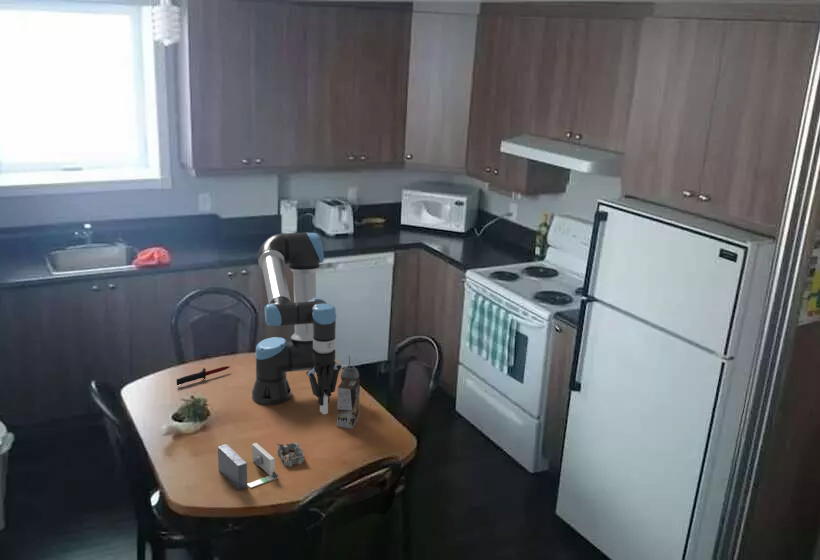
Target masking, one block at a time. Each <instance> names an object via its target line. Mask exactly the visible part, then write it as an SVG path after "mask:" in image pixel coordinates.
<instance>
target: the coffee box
mask: <svg viewBox="0 0 820 560" xmlns="http://www.w3.org/2000/svg"><path fill="white" fill-rule="evenodd" d="M360 390H361V378H359V379H354V378H344V379H343V380H341V382H340V384H339V385H338V387H337V403H336V404H337V407H336V408H337V409H336V410H337V411H336V413H337V416H336V419H337V420H336V427H339V428H345V429H352V430H353V429H354V428H355V426H356V424H357V422H358V420H359V418H360V394H361V393H360V392H361V391H360Z"/></svg>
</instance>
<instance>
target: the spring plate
mask: <svg viewBox="0 0 820 560" xmlns="http://www.w3.org/2000/svg"><path fill="white" fill-rule="evenodd" d="M251 449H252V450H251V454H252V456H251V457H252V461H253V462H254V463H255V465H256V466H259V468H261V469H262V470H263V471H264V472H266V474H268V476H271V475H274V476H275V477H278V478H279V475H278V473H277V472H275V469H276V468H275V457H273V456H272V455H271V454H270V453H269V452H268V451H266V450H265V449H264V447H262V446H261V445H260V444H258V442H254V443H252V444H251Z"/></svg>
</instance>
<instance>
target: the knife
mask: <svg viewBox="0 0 820 560" xmlns="http://www.w3.org/2000/svg"><path fill="white" fill-rule="evenodd" d="M230 367H231V366H221V367H218V368H217V367H216V368H214V369H211V370H207V369H206V368H205V367H203V369H202V370H201V371H200V372H198V373H197V372H196V373H191V374H189V375H185V376H182V377H180V378H176V386H177V385H179V384H181V385H183V384H186V383H190V382H193V381H197V380H199V379H203V378H204V379H205V380H206V378H207V376H210V375H212V374H216V373H220V372H224V371H225V370H228V369H229V368H230ZM204 379H203V380H204Z"/></svg>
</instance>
